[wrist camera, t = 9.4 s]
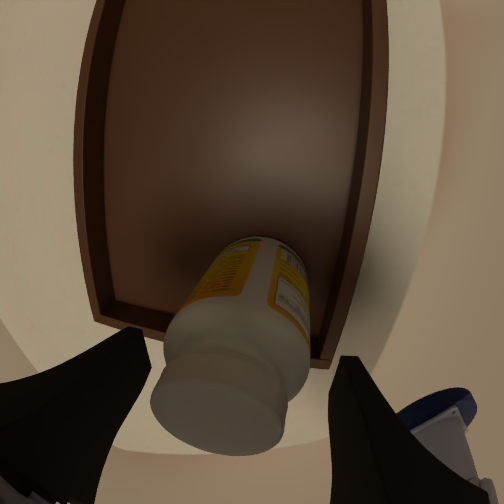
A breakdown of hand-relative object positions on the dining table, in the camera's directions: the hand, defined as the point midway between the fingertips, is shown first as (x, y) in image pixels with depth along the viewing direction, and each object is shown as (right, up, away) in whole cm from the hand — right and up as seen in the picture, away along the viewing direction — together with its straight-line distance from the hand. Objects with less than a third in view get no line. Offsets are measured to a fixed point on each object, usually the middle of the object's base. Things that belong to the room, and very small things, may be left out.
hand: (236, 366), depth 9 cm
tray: (-1, +13, +3) cm, 13 cm away
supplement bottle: (+1, +3, +6) cm, 7 cm away
